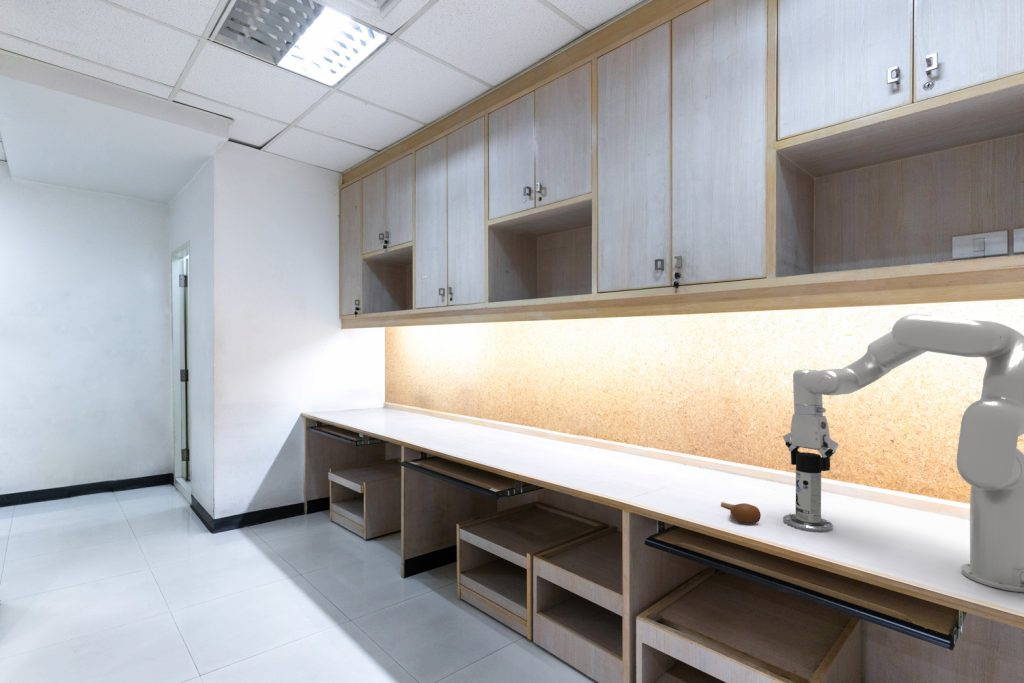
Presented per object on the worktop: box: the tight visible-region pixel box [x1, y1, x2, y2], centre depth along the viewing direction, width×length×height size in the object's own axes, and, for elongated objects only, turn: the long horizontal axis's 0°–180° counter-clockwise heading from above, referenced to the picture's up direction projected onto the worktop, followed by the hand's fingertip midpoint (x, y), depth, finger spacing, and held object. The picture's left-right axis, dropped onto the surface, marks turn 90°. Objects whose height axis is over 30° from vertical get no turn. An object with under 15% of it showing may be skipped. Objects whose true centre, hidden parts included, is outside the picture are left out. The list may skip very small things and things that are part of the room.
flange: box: [782, 513, 834, 533], centre depth 153 cm, size 13×13×1 cm
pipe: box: [720, 501, 762, 525], centre depth 161 cm, size 8×19×6 cm, turn 6°
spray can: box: [795, 451, 822, 524], centre depth 153 cm, size 7×7×20 cm
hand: (810, 467), depth 153 cm, fingers open, 9 cm apart
